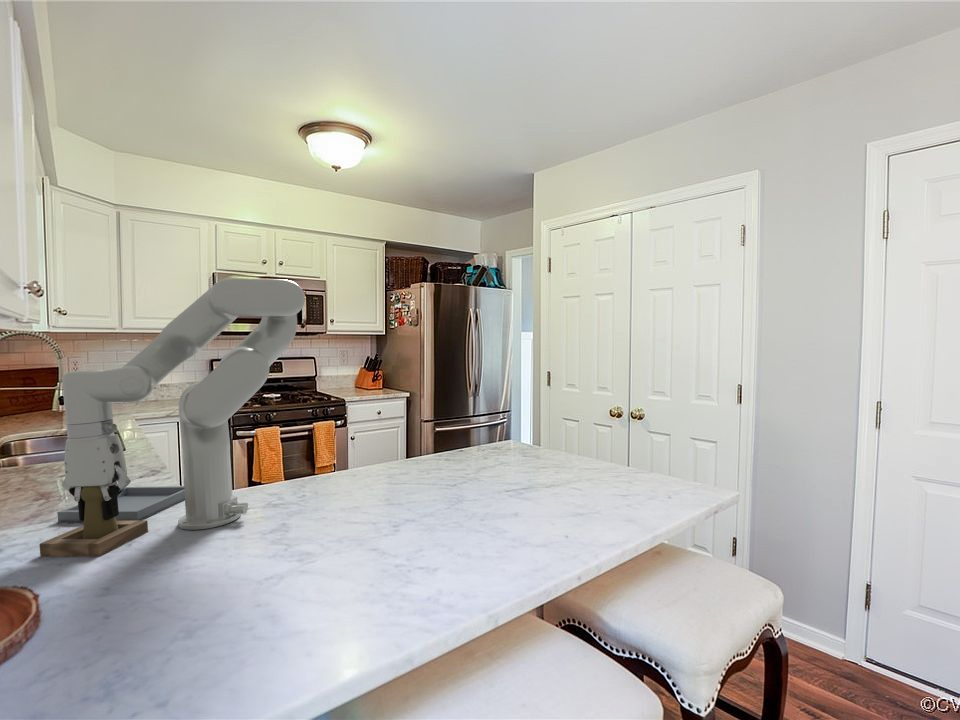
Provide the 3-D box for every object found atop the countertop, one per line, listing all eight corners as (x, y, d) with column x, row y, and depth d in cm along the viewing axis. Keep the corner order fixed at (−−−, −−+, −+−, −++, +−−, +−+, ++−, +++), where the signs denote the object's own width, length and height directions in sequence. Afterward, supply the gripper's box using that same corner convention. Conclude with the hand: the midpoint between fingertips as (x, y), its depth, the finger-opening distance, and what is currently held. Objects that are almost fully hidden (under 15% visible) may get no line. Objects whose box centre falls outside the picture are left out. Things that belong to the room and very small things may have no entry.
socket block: (148, 531, 108) (147, 520, 108) (99, 556, 96) (98, 543, 96) (95, 531, 109) (94, 520, 109) (40, 556, 97) (39, 543, 97)
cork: (99, 542, 99) (94, 487, 99) (74, 541, 101) (69, 487, 100) (126, 530, 105) (121, 478, 105) (102, 529, 106) (98, 478, 106)
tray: (195, 495, 134) (194, 486, 134) (137, 522, 115) (137, 511, 114) (126, 495, 136) (125, 486, 136) (58, 522, 116) (57, 511, 116)
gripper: (143, 425, 105) (151, 510, 106) (69, 428, 106) (78, 512, 107) (114, 432, 97) (123, 524, 98) (35, 435, 99) (44, 526, 100)
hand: (99, 517), depth 103 cm, fingers closed on cork, 4 cm apart
